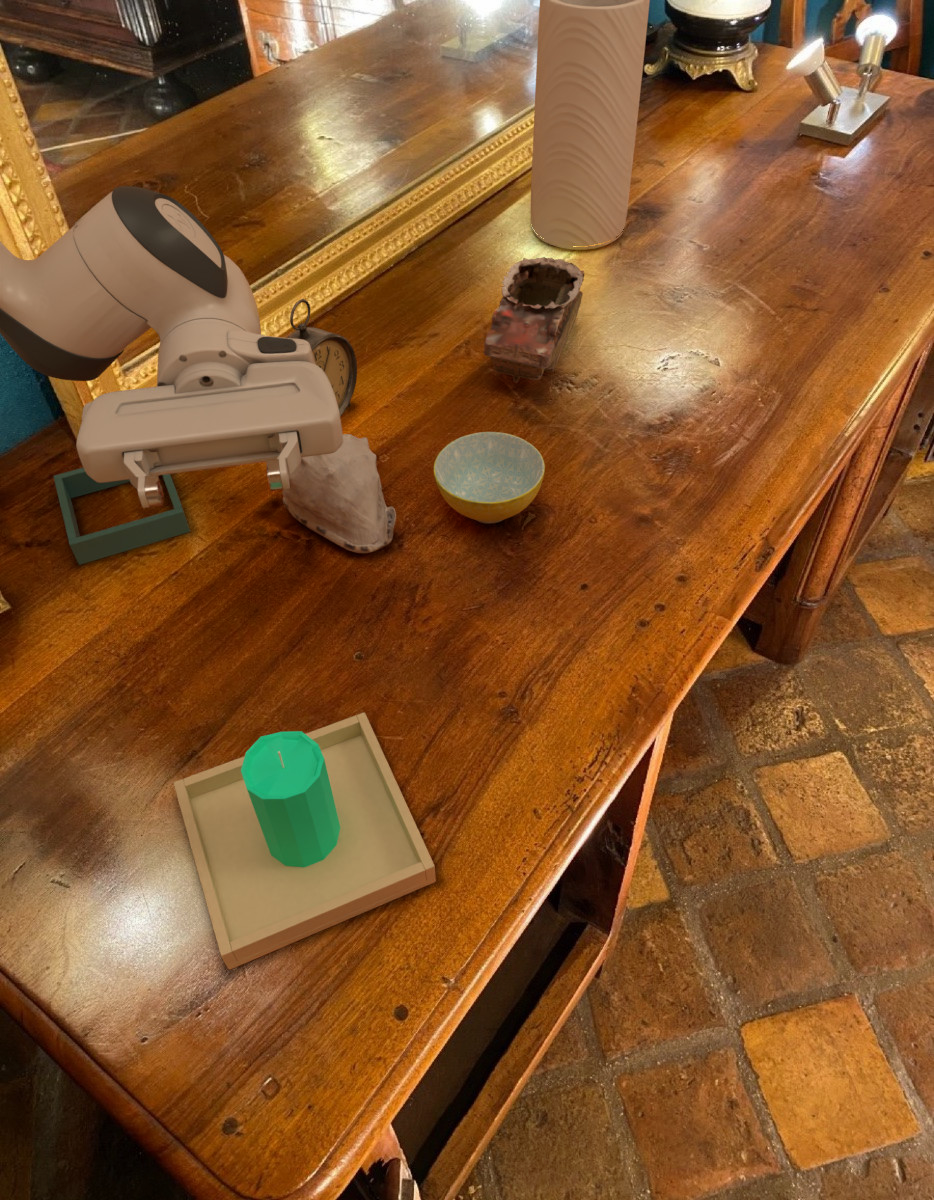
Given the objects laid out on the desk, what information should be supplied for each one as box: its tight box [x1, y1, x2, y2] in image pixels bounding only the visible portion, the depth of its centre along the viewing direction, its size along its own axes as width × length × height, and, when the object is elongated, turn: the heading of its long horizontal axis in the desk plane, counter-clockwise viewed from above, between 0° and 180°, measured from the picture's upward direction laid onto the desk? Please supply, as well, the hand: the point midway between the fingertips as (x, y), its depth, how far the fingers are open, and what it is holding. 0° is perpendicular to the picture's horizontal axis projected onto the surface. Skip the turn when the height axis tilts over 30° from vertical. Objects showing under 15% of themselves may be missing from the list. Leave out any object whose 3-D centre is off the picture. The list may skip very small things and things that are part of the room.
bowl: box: [433, 431, 546, 524], centre depth 100 cm, size 11×12×6 cm
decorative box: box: [482, 256, 585, 383], centre depth 116 cm, size 13×20×10 cm, turn 156°
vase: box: [530, 0, 651, 251], centre depth 131 cm, size 14×14×32 cm
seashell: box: [281, 433, 397, 554], centre depth 99 cm, size 12×14×10 cm
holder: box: [53, 467, 191, 566], centre depth 101 cm, size 12×12×3 cm
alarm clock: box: [287, 298, 358, 418], centre depth 106 cm, size 11×5×16 cm, turn 147°
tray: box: [173, 711, 437, 971], centre depth 76 cm, size 17×16×3 cm
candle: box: [241, 730, 340, 867], centre depth 72 cm, size 6×6×12 cm
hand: (215, 492), depth 70 cm, fingers open, 8 cm apart
